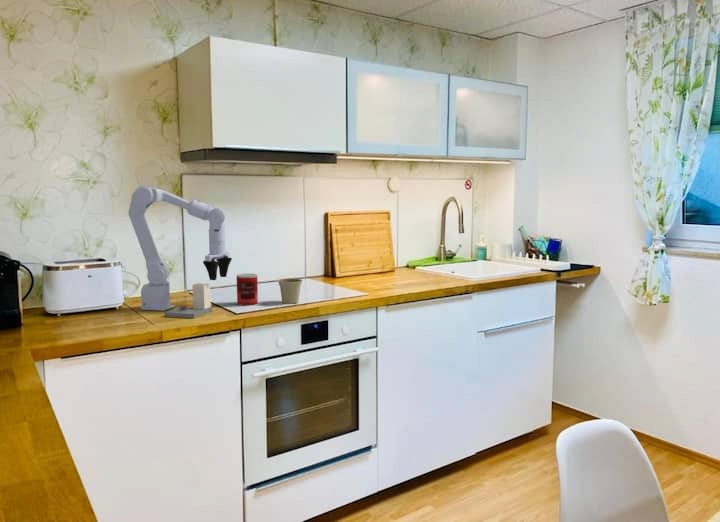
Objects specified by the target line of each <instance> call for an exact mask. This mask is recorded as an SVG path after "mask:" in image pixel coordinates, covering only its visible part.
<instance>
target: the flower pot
mask: <svg viewBox="0 0 720 522" xmlns="http://www.w3.org/2000/svg"><path fill="white" fill-rule="evenodd" d="M277 282H278V286H279V290H280V296H281V302H282V303H283V304H286V305H287V304H289V305H292V303H293V304H294V303H295V304H298V303H299V300H300V293H301V292H300V291H301V286H302V282H303V279H301V278H281V279H277Z"/></svg>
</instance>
